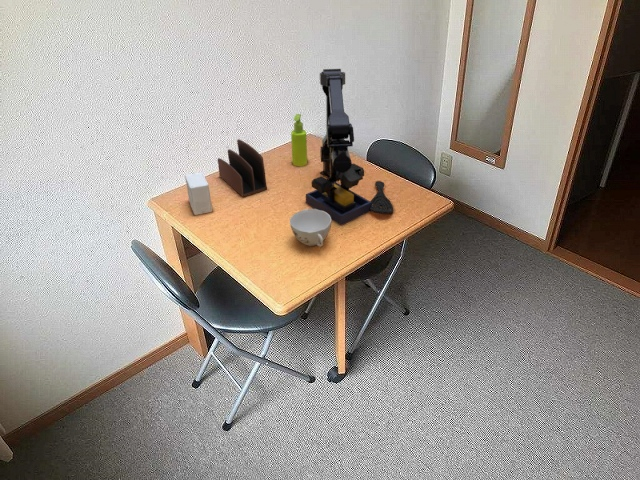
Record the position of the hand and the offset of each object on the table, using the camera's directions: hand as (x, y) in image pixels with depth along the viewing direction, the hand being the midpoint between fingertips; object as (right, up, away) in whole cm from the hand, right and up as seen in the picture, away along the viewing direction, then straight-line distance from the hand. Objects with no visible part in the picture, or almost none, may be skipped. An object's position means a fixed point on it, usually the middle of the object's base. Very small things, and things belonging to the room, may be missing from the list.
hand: (338, 199), depth 165 cm
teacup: (-9, -15, -16) cm, 23 cm away
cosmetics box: (-47, -2, +3) cm, 48 cm away
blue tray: (0, -2, +2) cm, 3 cm away
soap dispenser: (-14, +17, +29) cm, 36 cm away
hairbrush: (+15, 0, +5) cm, 16 cm away
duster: (0, -1, +1) cm, 1 cm away
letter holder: (-35, +8, +16) cm, 40 cm away
